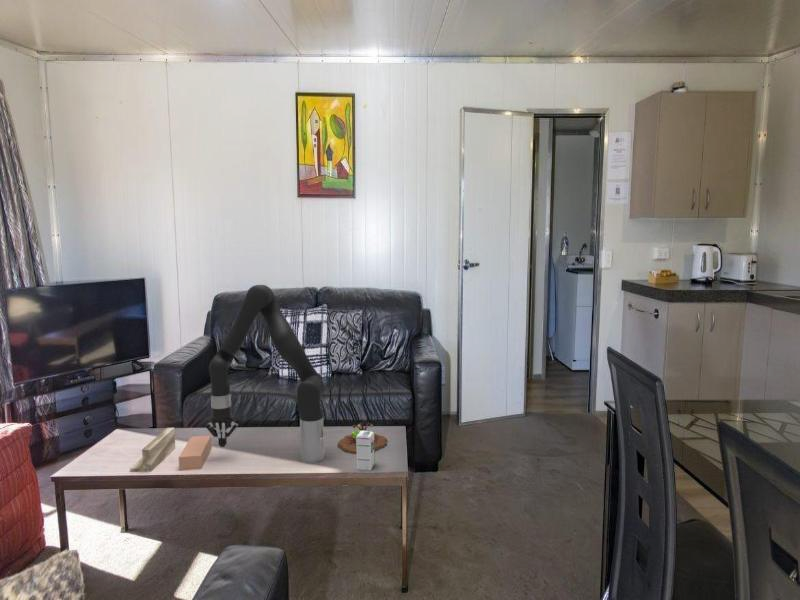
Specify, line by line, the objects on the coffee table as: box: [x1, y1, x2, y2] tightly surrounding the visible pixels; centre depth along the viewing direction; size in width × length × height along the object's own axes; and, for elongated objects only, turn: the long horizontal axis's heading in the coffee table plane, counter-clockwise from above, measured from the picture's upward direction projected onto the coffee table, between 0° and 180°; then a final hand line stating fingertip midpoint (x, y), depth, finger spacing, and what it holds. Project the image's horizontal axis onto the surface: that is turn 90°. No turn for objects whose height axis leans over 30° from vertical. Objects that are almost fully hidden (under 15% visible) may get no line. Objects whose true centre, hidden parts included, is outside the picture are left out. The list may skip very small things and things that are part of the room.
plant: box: [337, 422, 388, 455], centre depth 218 cm, size 20×20×11 cm
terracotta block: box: [178, 435, 213, 471], centre depth 206 cm, size 8×20×6 cm, turn 9°
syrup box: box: [356, 430, 376, 471], centre depth 197 cm, size 6×6×14 cm
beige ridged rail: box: [129, 427, 176, 473], centre depth 205 cm, size 8×22×9 cm, turn 1°
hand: (222, 446), depth 206 cm, fingers closed
